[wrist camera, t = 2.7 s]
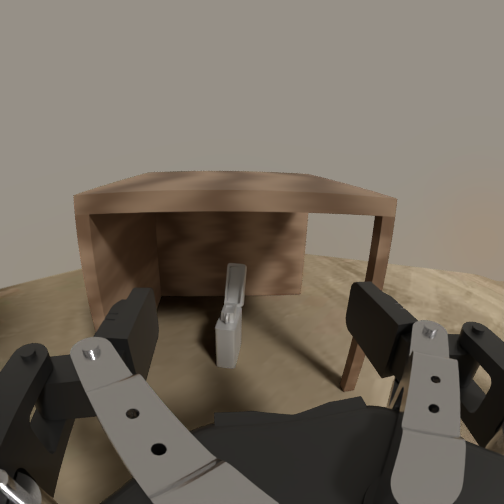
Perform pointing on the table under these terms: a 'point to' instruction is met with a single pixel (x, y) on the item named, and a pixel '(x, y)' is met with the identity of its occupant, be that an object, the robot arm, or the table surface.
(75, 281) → the table surface
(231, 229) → the open side box
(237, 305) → the lighter
